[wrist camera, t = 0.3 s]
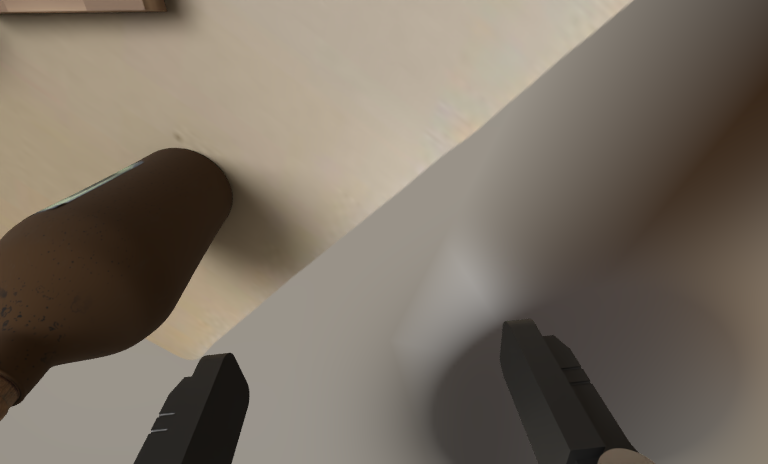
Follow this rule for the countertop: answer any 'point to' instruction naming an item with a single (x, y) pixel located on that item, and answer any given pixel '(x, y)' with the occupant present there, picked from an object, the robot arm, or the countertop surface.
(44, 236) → the brown bottle
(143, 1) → the socket block
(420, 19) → the countertop surface
